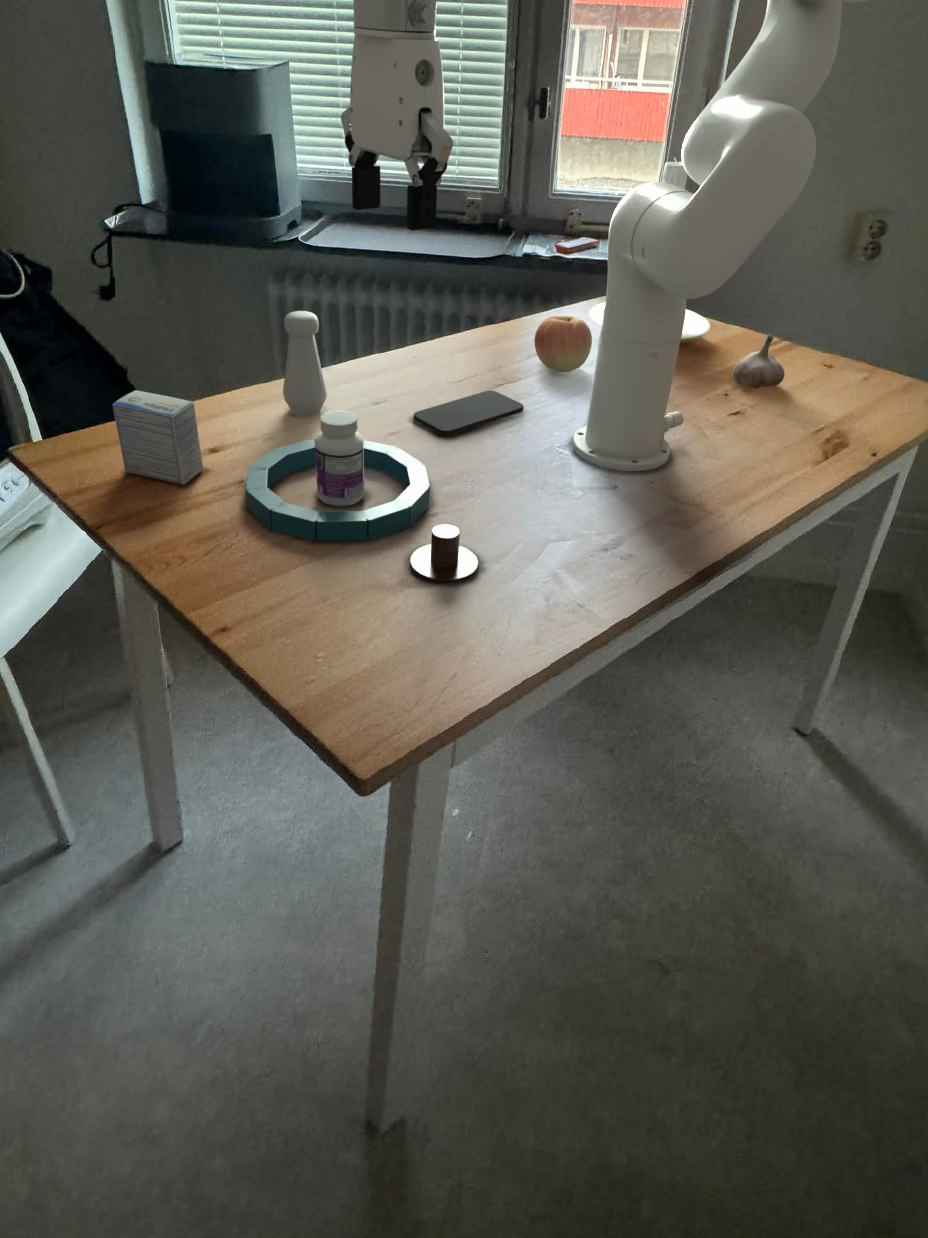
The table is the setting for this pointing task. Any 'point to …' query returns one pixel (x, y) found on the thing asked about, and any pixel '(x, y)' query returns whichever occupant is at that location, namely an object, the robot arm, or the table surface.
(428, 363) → the table surface
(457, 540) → the peg stand
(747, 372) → the garlic bulb
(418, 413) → the phone
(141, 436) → the medicine box
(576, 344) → the apple
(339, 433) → the pill bottle
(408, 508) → the ring
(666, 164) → the candlestick
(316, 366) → the salt shaker
